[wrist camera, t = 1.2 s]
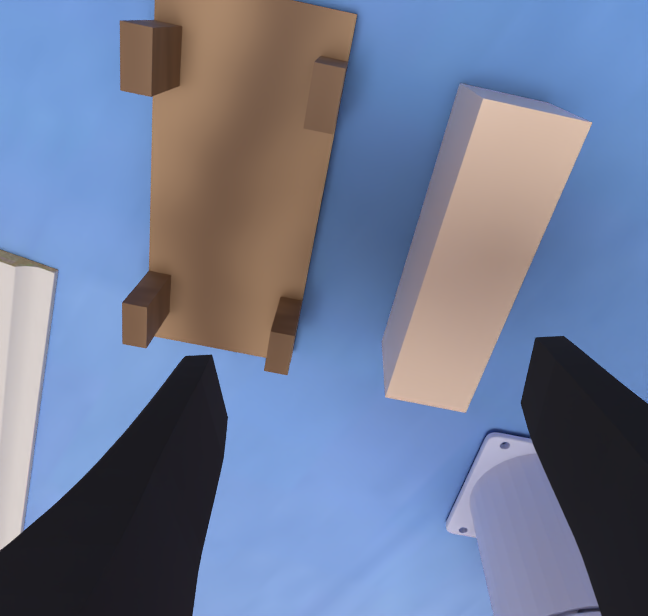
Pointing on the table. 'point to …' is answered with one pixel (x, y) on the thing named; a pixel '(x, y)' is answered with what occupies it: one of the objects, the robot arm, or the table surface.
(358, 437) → the table surface
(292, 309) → the rack
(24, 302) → the baseboard molding
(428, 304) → the beige rectangular block
